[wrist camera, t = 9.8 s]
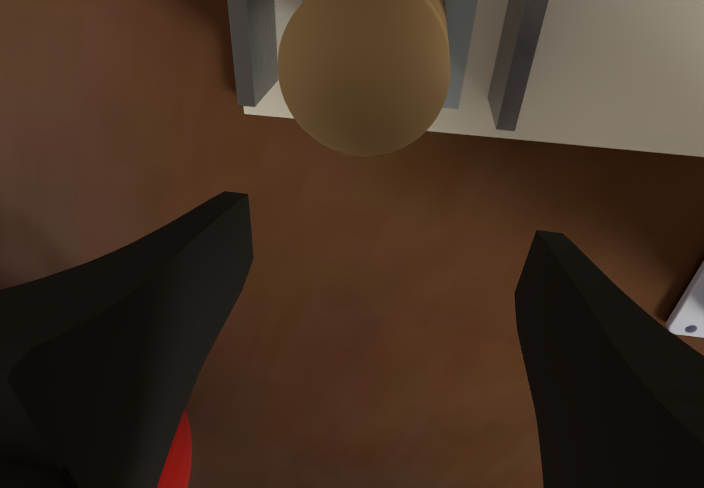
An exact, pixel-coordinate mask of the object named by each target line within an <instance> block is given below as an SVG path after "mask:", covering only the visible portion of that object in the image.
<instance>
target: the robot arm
mask: <svg viewBox="0 0 704 488" xmlns="http://www.w3.org/2000/svg"><path fill="white" fill-rule="evenodd" d="M252 261H253V247H252V235H251V223H250V211H249V199H248V194H242V193H234V192H226V191H225V192H223V193H221V194H219V195H217V196H215V197H213V198H211V199H210V200H208V201H206V202H205V203H203V204H201V205H200V206H198V207H196V208H194V209H193V210H191V211H189V212H188V213H186V214H184V215H183V216H181V217H179V218H177V219H176V220H174V221H172V222H171V223H169V224H167V225H165V226H163V227H162V228H160V229H158V230H156V231H154V232H152V233H150V234H148V235H146V236H144V237H142V238H141V239H139V240H137V241H135V242H133V243H131V244H129V245H127V246H125V247H123V248H120V249H118V250H116V251H114V252H112V253H109V254H107V255H104V256H102V257H100V258H97V259H95V260H92V261H90V262H87V263H85V264H82V265H79V266H76V267H73V268H70V269H68V270H65V271H62V272H59V273H56V274H53V275H50V276H47V277H44V278H41V279H38V280H35V281H31V282H28V283H24V284H21V285H17V286H14V287H10V288H6V289H2V290H0V488H157V486H158V483H159V480H160V477H161V474H162V471H163V468H164V465H165V462H166V459H167V456H168V453H169V451H170V448H171V445H172V442H173V439H174V436H175V434H176V431H177V428H178V426H179V423H180V420H181V418H182V415H183V412H184V409H185V407H186V404H187V402H188V399H189V397H190V394H191V392H192V389H193V387H194V384H195V382H196V379H197V377H198V374H199V372H200V370H201V367H202V365H203V363H204V361H205V359H206V357H207V355H208V353H209V351H210V349H211V348H212V346H213V344H214V342H215V340H216V338H217V336H218V334H219V333H220V331H221V329H222V327H223V325H224V323H225V321H226V320H227V318H228V316H229V314H230V312H231V310H232V308H233V306H234V304H235V302H236V301H237V299H238V297H239V295H240V293H241V291H242V289H243V286H244V283H245V281H246V278H247V275H248V272H249V269H250V266H251V263H252ZM515 308H516V321H517V330H518V335H519V340H520V345H521V349H522V354H523V358H524V363H525V367H526V372H527V376H528V381H529V385H530V390H531V394H532V399H533V403H534V407H535V413H536V419H537V425H538V433H539V442H540V452H541V461H542V472H543V483H544V488H704V356H703V355H701V354H700V353H699V352H697V351H696V350H694V349H693V348H691V347H690V346H689V345H687V344H686V343H685V342H683V341H682V340H681V339H679V338H678V337H677V336H675V335H674V334H678V335H686V336H694V337H702V338H704V261H703V263H702V264H701V266H700V267H699V269H698V271H697V272H696V274H695V276H694V277H693V279H692V281H691V282H690V284H689V285H688V287H687V289H686V290H685V292H684V294H683V295H682V297H681V299H680V300H679V302H678V304H677V305H676V307H675V308H674V310H673V312H672V313H671V315H670V317H669V318H668V320H667V322H666V326H667V328H668V330H667V329H666V328H665V327H663V326H662V325H661V324H660V323H658V322H657V321H656V320H655V319H653V318H652V317H651V316H650V315H649V314H648V313H646V312H645V311H644V310H643V309H642V308H641V307H639V306H638V305H637V304H636V303H635V302H634V301H632V300H631V299H630V298H629V297H628V296H627V295H626V294H625V293H624V292H623V291H621V290H620V289H619V288H618V287H617V286H616V285H615V284H614V283H613V282H612V281H611V280H610V279H609V278H608V277H607V276H606V275H605V274H604V273H603V272H602V271H601V270H600V269H599V268H598V267H597V266H596V265H595V264H594V263H593V262H592V261H591V260H590V259H589V258H588V257H587V256H586V255H585V254H584V253H583V252H582V251H581V250H580V249H579V248H578V247H577V246H576V245H575V244H574V243H572V242H571V241H570V240H569V239H568V238H567V237H566V236H565V235H564V234H563V233H555V232H547V231H539V230H536V233H535V236H534V239H533V242H532V245H531V247H530V250H529V253H528V256H527V259H526V262H525V265H524V268H523V271H522V273H521V276H520V279H519V282H518V285H517V288H516V291H515ZM690 325H691V326H690ZM687 326H689V327H687Z"/></svg>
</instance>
